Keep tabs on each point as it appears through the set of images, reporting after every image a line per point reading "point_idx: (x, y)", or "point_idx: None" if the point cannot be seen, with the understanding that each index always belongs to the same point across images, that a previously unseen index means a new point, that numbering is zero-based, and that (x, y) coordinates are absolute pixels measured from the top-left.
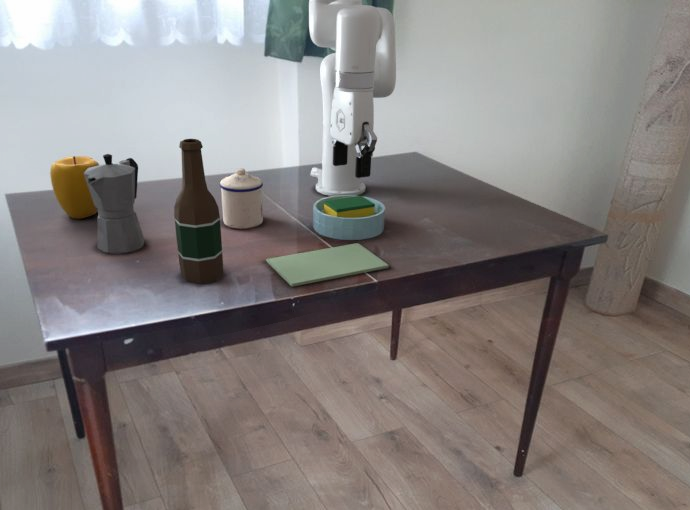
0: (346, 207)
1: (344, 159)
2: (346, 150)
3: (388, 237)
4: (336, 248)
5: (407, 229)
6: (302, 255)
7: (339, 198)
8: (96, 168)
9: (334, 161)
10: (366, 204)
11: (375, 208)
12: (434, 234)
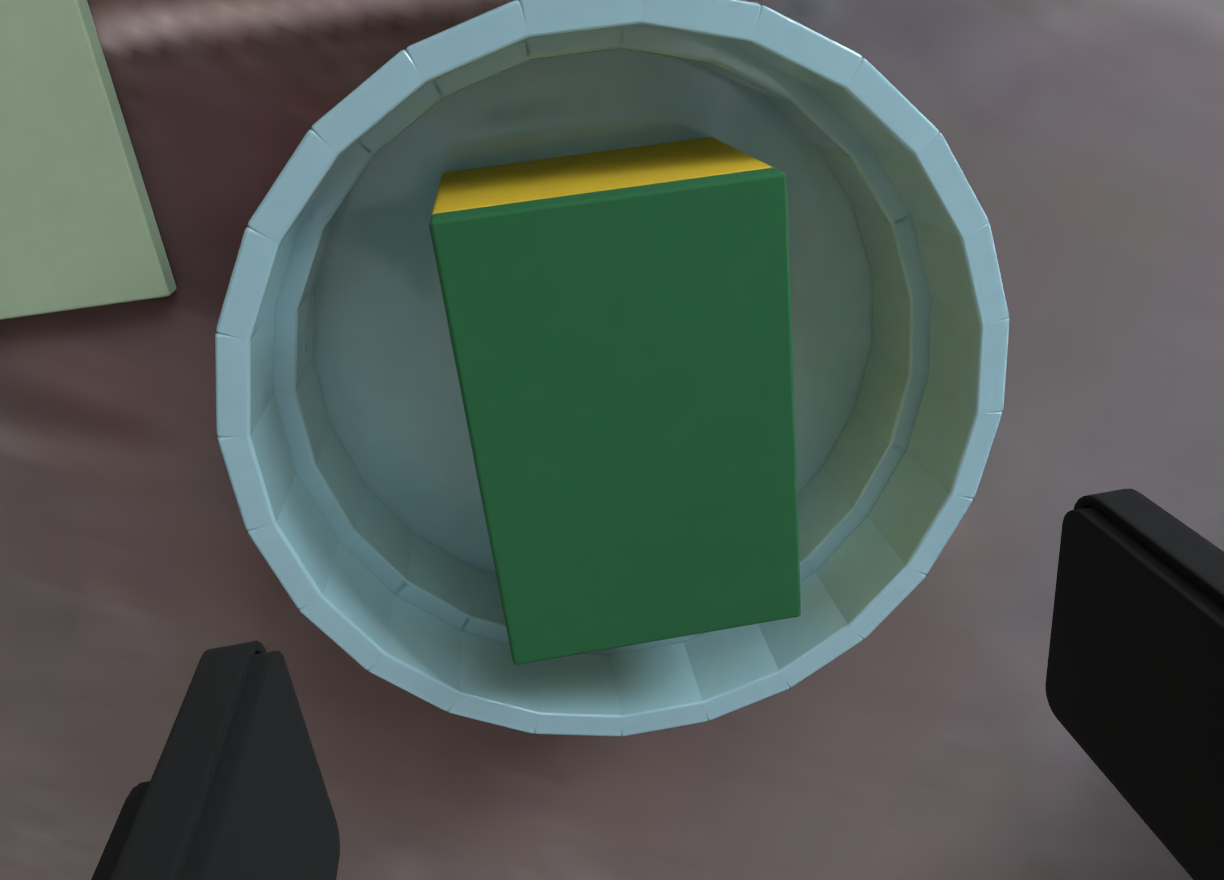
0: (469, 354)
1: (1099, 719)
2: (1211, 875)
3: None
4: (41, 33)
5: (463, 753)
6: None
7: (959, 419)
8: None
9: (1125, 535)
10: (515, 586)
11: (681, 658)
12: None
